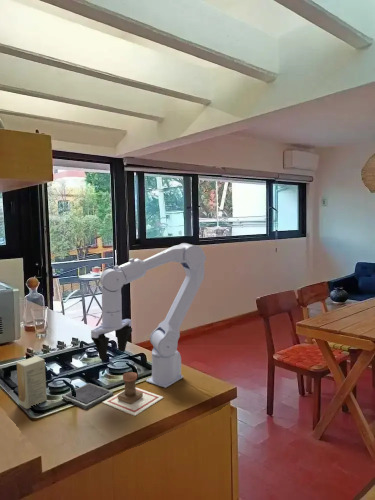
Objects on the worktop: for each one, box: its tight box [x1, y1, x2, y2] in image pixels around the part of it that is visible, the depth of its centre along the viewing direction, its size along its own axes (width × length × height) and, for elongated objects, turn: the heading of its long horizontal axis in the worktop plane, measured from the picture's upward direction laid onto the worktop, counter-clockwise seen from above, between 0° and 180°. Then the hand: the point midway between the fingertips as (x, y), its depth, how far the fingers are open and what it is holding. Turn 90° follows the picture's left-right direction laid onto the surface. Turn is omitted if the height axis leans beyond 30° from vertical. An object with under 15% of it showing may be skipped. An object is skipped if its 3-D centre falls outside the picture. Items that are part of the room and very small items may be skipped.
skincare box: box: [16, 355, 48, 410], centre depth 107 cm, size 6×4×12 cm
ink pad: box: [61, 382, 114, 410], centre depth 111 cm, size 10×10×1 cm
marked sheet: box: [102, 387, 164, 417], centre depth 110 cm, size 12×12×1 cm
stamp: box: [117, 371, 143, 404], centre depth 110 cm, size 5×5×7 cm
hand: (112, 354), depth 116 cm, fingers open, 7 cm apart
